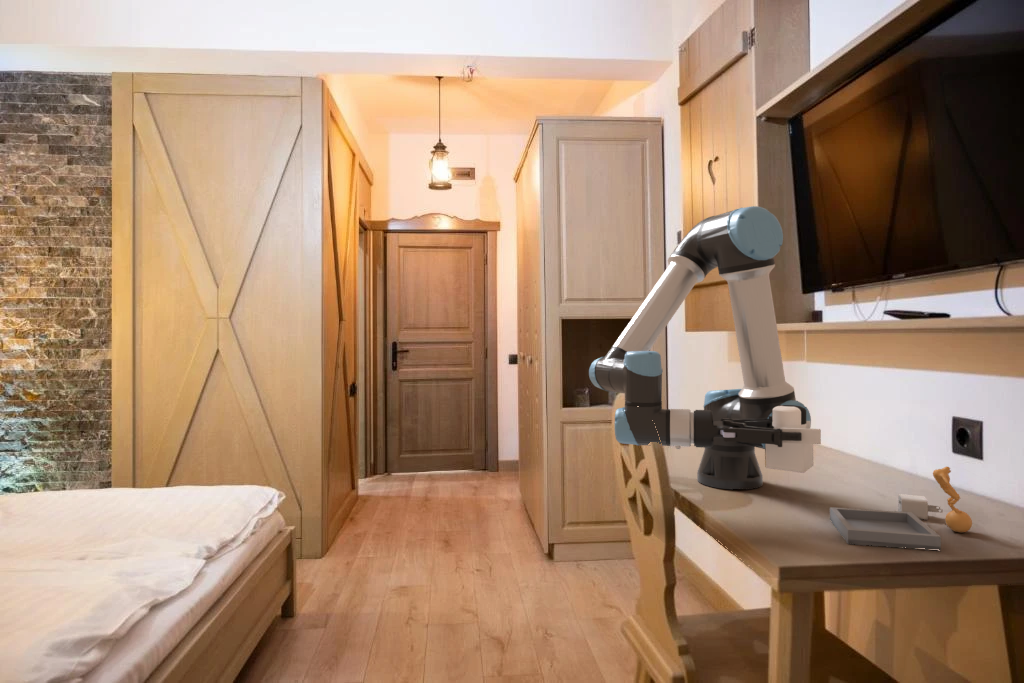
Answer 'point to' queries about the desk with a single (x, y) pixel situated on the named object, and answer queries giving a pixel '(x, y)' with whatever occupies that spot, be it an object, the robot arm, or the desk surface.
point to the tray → (883, 528)
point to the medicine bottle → (790, 453)
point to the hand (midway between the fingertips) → (814, 432)
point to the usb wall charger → (916, 506)
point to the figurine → (952, 503)
